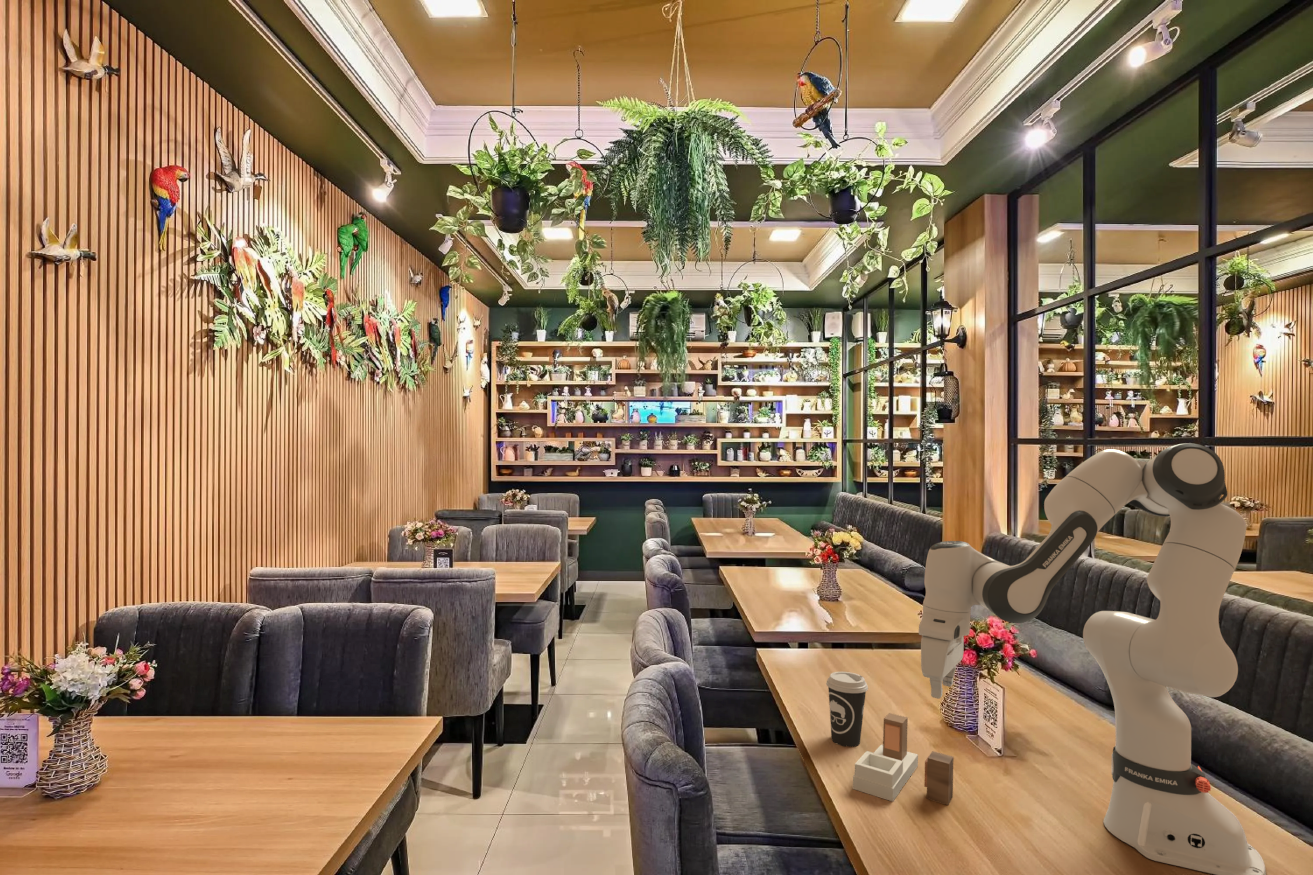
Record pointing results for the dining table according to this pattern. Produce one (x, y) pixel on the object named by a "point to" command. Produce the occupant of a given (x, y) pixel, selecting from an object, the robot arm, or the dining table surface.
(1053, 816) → the dining table surface
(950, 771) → the stacked taupe block
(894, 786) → the block holder
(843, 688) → the coffee cup
